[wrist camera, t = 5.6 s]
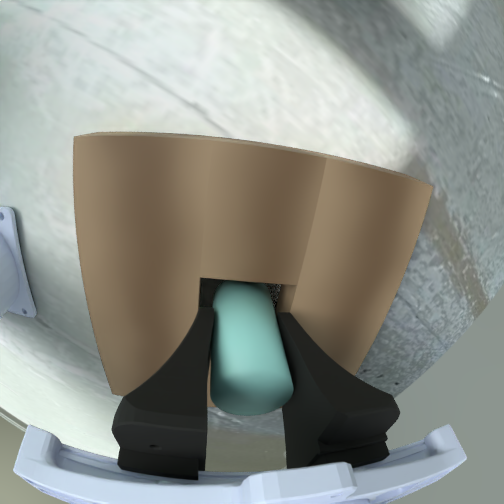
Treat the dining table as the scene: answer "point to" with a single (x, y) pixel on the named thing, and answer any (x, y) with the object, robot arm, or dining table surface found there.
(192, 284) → the socket board
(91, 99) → the dining table surface
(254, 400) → the peg
